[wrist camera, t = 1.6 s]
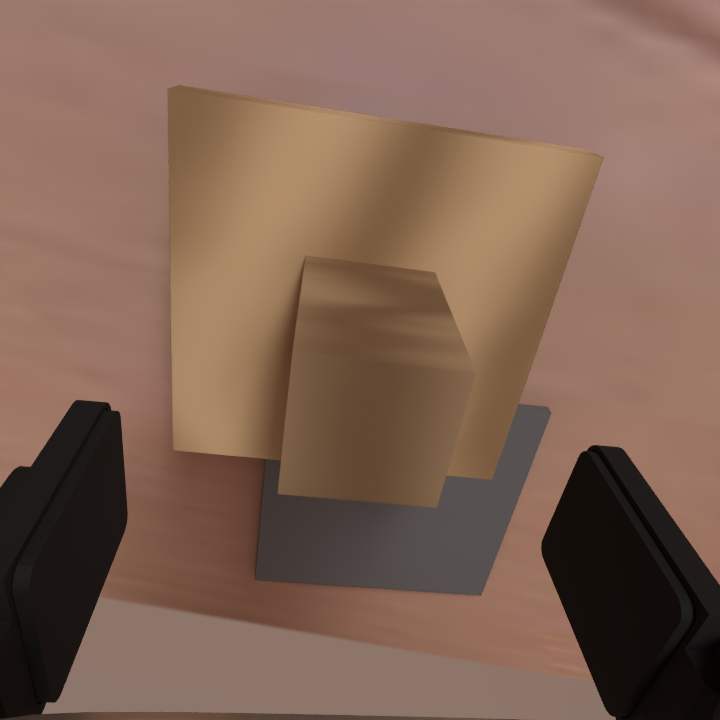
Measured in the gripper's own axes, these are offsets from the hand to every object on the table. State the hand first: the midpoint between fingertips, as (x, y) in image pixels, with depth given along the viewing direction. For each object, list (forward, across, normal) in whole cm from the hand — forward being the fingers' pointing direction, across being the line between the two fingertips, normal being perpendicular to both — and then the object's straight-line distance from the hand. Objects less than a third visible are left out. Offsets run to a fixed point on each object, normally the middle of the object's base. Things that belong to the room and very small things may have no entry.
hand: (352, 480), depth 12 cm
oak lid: (+9, -1, 0) cm, 9 cm away
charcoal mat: (+15, -5, +14) cm, 21 cm away
